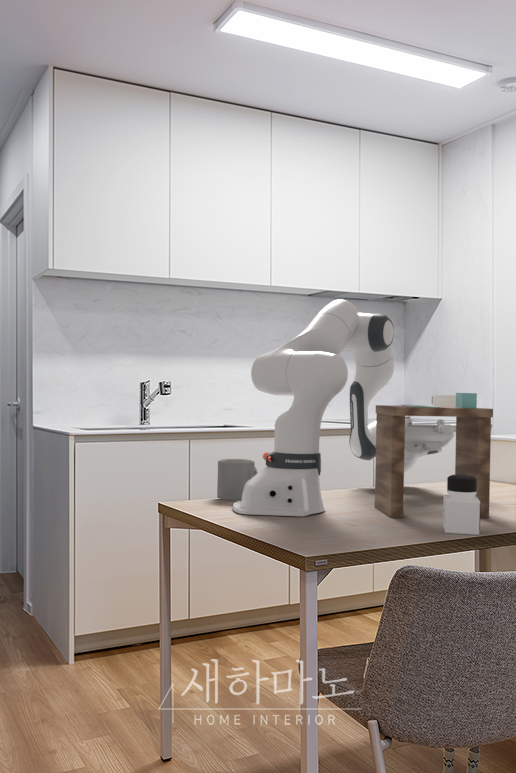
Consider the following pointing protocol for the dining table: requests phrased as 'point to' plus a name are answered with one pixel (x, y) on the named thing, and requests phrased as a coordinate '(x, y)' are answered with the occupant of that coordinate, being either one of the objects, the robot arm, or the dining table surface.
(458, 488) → the medicine bottle
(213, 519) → the dining table surface
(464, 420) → the shelf
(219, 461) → the coffee mug
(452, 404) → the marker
